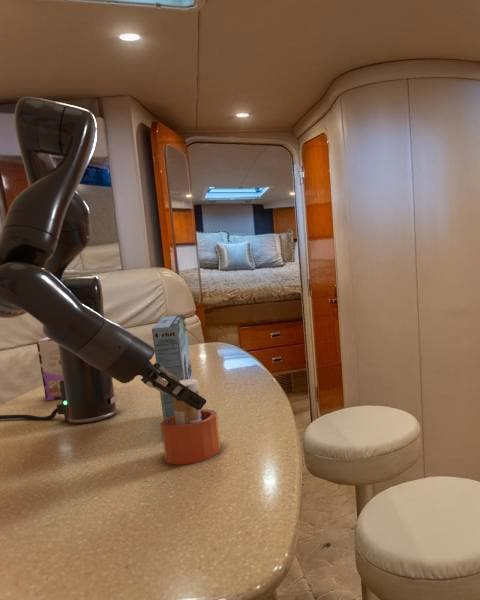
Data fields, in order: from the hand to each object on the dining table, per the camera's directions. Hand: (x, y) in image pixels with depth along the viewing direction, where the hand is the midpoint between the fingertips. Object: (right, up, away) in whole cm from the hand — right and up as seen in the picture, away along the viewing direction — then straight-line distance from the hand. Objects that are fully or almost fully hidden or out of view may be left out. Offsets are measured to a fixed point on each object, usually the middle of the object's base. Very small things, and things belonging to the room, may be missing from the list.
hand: (197, 401), depth 95 cm
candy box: (-54, -7, +44) cm, 70 cm away
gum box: (-12, -8, +17) cm, 23 cm away
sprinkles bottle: (-1, -9, 0) cm, 10 cm away
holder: (-1, -10, 0) cm, 10 cm away
